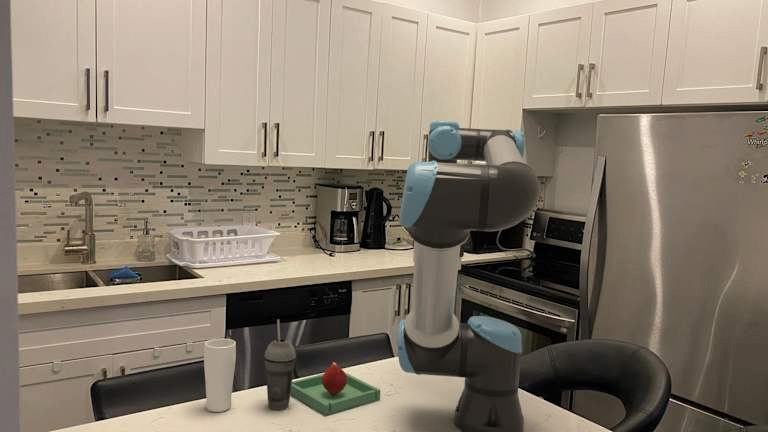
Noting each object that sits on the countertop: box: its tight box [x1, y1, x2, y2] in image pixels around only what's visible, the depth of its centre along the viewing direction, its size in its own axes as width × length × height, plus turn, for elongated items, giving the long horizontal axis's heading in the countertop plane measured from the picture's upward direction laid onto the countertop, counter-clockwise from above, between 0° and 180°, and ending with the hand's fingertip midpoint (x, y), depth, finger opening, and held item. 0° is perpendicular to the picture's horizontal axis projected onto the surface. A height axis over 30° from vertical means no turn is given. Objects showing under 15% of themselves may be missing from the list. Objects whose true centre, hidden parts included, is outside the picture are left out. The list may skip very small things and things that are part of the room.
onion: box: [322, 362, 347, 396], centre depth 144 cm, size 6×6×8 cm
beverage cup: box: [263, 319, 297, 412], centre depth 136 cm, size 7×7×20 cm
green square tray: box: [290, 372, 381, 417], centre depth 144 cm, size 16×16×2 cm
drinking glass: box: [203, 338, 237, 413], centre depth 134 cm, size 7×7×15 cm
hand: (436, 265), depth 155 cm, fingers open, 13 cm apart
